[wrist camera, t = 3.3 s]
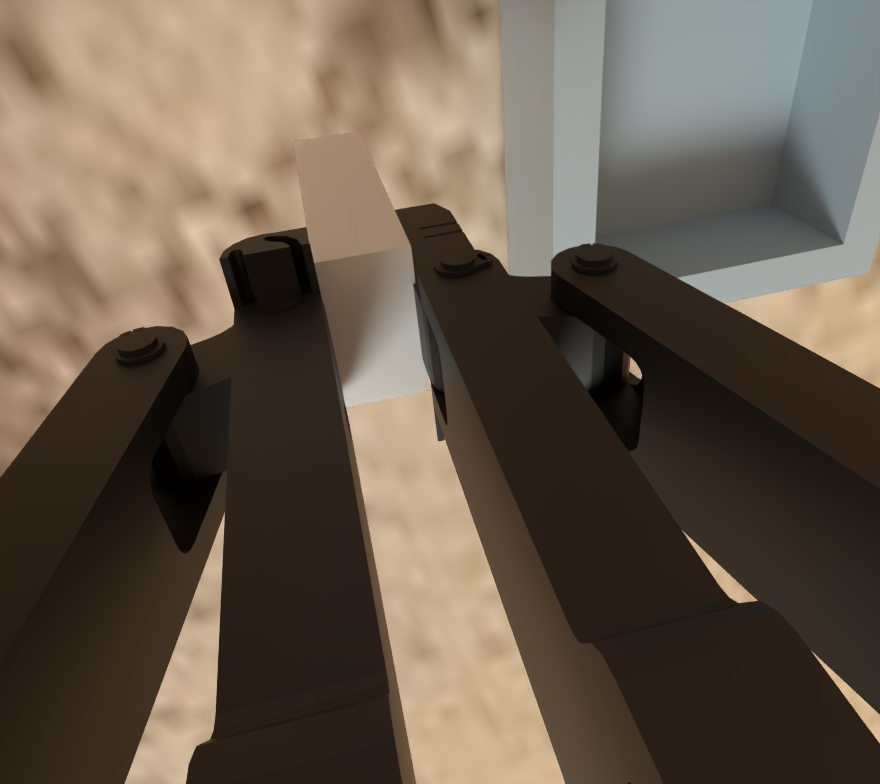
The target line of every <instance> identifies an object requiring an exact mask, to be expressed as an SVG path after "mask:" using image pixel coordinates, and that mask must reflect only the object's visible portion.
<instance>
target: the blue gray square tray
mask: <svg viewBox="0 0 880 784" xmlns="http://www.w3.org/2000/svg"><path fill="white" fill-rule="evenodd" d="M499 13H500V41H501V69H502V97H503V124H504V152H505V180H506V208H507V235H508V263H509V275H513V276H528V277H530V276H551V260H552V259H553V258H554V257H555V256H556V254H557V253H559V252H561V251H564V250H566V249H568V248H572V247H577V246H580V245H581V244H588V243H591V245H593V243H601V244H604V245H607V246H614V247H618V248H621V249H623V250H626V251H629V252H631V253H632V254H634V255H636V256H638V257H640V258H642V259H643V260H645V261H647V262H649V263H651V264H653V265H654V266H656V267H658V268H660V269H662V270H664V271H665V272H667V273H669V274H671V275H673V276H675V277H676V278H678V279H680V280H682V281H684V282H686V283H687V284H689V285H691V286H693V287H695V288H697V289H698V290H700V291H702V292H704V293H706V294H708V295H709V296H711V297H713V298H715V299H717V300H719V301H720V302H722V303H728V302H733V301H737V300H742V299H747V298H752V297H757V296H761V295H766V294H771V293H776V292H780V291H785V290H790V289H795V288H800V287H804V286H809V285H814V284H819V283H824V282H828V281H833V280H838V279H843V278H847V277H852V276H857V275H862V274H867V273H868V272H869V269H870V266H871V262H872V259H873V256H874V252H875V249H876V246H877V243H878V239H879V236H880V0H499Z"/></svg>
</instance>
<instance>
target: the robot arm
mask: <svg viewBox="0 0 880 784" xmlns="http://www.w3.org/2000/svg"><path fill="white" fill-rule="evenodd" d="M293 144H294V151H295V157H296V163H297V170H298V176H299V182H300V189H301V195H302V201H303V208H304V214H305V220H306V227H305V228H299V229H293V230H287V231H282V232H276V233H269V234H262V235H258V236H254V237H250V238H247V239H244V240H242V241H240V242H237V243H235V244H233V245H232V246H230V247H229V248H228V249H226V250H225V251H223V253H222V255H221V257H220V259H219V260H220V263H221V266H222V270H223V273H224V276H225V279H226V283H227V286H228V289H229V292H230V296H231V299H232V302H233V305H234V309H235V310H234V325H233V326H232V327H231V328H229V329H227V330H226V331H224V332H222V333H221V334H218V335H216V336H214V337H211V338H209V339H207V340H204V341H201V342H198V343H195V344H193V345H190V343H189V340H188V338H187V336H186V335H185V333H184V332H183V331H182V330H179V329H176V328H174V327H163V326H155V327H149V328H144V327H142V328H138V329H134V330H133V331H132V332H131V331H128V332H126V333H123V334H121V335H120V336H119V337H118V338H116V339H114V340H112V341H110V342H109V343H107V344H106V345H104V346H103V347H102V348H101V349H100V350H99V351H98V352H97V353H96V354H95V355H94V356H93V358H92V359H91V360H90V362H89V363H88V364H87V366H86V367H85V368H84V369H83V371H82V372H81V373H80V375H79V376H78V377H77V379H76V380H75V381H74V382H73V384H72V385H71V386H70V388H69V389H68V390H67V392H66V393H65V394H64V396H63V397H62V398H61V399H60V401H59V402H58V403H57V405H56V406H55V407H54V409H53V410H52V411H51V412H50V414H49V415H48V416H47V418H46V419H45V420H44V422H43V423H42V424H41V426H40V427H39V428H38V429H37V431H36V432H35V433H34V435H33V436H32V437H31V439H30V440H29V441H28V442H27V444H26V445H25V446H24V448H23V449H22V450H21V452H20V453H19V454H18V455H17V457H16V458H15V459H14V461H13V462H12V463H11V465H10V466H9V467H8V469H7V470H6V471H5V472H4V474H3V475H2V476H1V478H0V784H124V783H125V781H126V778H127V775H128V773H129V770H130V767H131V764H132V762H133V759H134V756H135V754H136V751H137V748H138V745H139V743H140V740H141V737H142V735H143V732H144V729H145V727H146V724H147V721H148V718H149V716H150V713H151V710H152V708H153V705H154V702H155V699H156V697H157V694H158V691H159V689H160V686H161V683H162V681H163V678H164V675H165V672H166V670H167V667H168V664H169V662H170V659H171V656H172V653H173V651H174V648H175V645H176V643H177V640H178V637H179V635H180V632H181V629H182V626H183V624H184V621H185V618H186V616H187V613H188V610H189V607H190V605H191V602H192V599H193V597H194V594H195V591H196V589H197V586H198V583H199V580H200V578H201V575H202V572H203V570H204V567H205V564H206V561H207V559H208V556H209V553H210V551H211V548H212V545H213V543H214V540H215V537H216V534H217V532H218V529H219V526H220V524H221V521H222V518H223V515H224V513H225V525H224V547H223V568H222V590H221V611H220V633H219V654H218V676H217V697H216V716H215V725H214V731H213V734H212V736H211V739H210V740H209V741H206V742H204V743H202V744H200V745H198V746H196V748H195V751H194V753H193V756H192V758H191V761H190V763H189V767H188V774H187V781H186V784H416V781H415V775H414V770H413V764H412V759H411V754H410V748H409V743H408V737H407V732H406V727H405V721H404V716H403V710H402V705H401V700H400V694H399V689H398V683H397V678H396V673H395V667H394V662H393V656H392V651H391V646H390V640H389V635H388V629H387V624H386V619H385V613H384V608H383V602H382V597H381V592H380V586H379V581H378V575H377V570H376V565H375V559H374V554H373V548H372V543H371V538H370V532H369V527H368V521H367V516H366V511H365V505H364V500H363V495H362V489H361V484H360V478H359V473H358V468H357V462H356V457H355V451H354V446H353V441H352V435H351V430H350V424H349V420H348V415H347V411H346V408H347V407H351V406H356V405H361V404H366V403H371V402H376V401H381V400H386V399H391V398H396V397H400V396H405V395H410V394H415V393H420V392H425V391H429V386H428V378H427V373H428V375H429V378H430V381H431V388H432V396H433V404H434V412H435V420H436V429H437V437H438V441H443V440H444V437H445V440H446V443H447V446H448V449H449V452H450V454H451V457H452V460H453V463H454V466H455V469H456V472H457V474H458V477H459V480H460V483H461V486H462V489H463V492H464V494H465V497H466V500H467V503H468V506H469V509H470V512H471V514H472V517H473V520H474V523H475V526H476V529H477V532H478V534H479V537H480V540H481V543H482V546H483V549H484V552H485V554H486V557H487V560H488V563H489V566H490V569H491V572H492V574H493V577H494V580H495V583H496V586H497V589H498V592H499V594H500V597H501V600H502V603H503V606H504V609H505V612H506V615H507V617H508V620H509V623H510V626H511V629H512V632H513V635H514V637H515V640H516V643H517V646H518V649H519V652H520V655H521V657H522V660H523V663H524V666H525V669H526V672H527V675H528V677H529V680H530V683H531V686H532V689H533V692H534V695H535V697H536V700H537V703H538V706H539V709H540V712H541V715H542V717H543V720H544V723H545V726H546V729H547V732H548V735H549V737H550V740H551V743H552V746H553V749H554V752H555V755H556V757H557V760H558V763H559V766H560V769H561V772H562V775H563V777H564V781H565V784H880V743H879V742H878V741H877V739H876V738H875V737H874V735H873V734H872V733H871V731H870V730H869V729H868V727H867V726H866V725H865V723H864V722H863V720H862V719H861V718H860V716H859V715H858V714H857V712H856V711H855V710H854V708H853V707H852V706H851V704H850V703H849V702H848V700H847V699H846V698H845V696H844V695H843V693H842V692H841V691H840V689H839V688H838V687H837V685H836V684H835V683H834V681H833V680H832V679H831V677H830V676H829V675H828V673H827V672H826V671H825V669H824V668H823V666H822V665H821V664H820V662H819V661H818V660H817V658H816V657H815V656H814V654H816V655H817V656H818V657H819V658H820V659H821V660H822V661H823V662H824V663H825V664H826V665H827V666H828V667H829V668H831V669H832V670H833V671H834V672H835V673H836V674H837V675H838V676H839V677H840V678H841V679H842V680H843V681H844V682H846V683H847V684H848V685H849V686H850V687H851V688H852V689H853V690H854V691H855V692H856V693H857V694H858V695H859V696H861V697H862V698H863V699H864V700H865V701H866V702H867V703H868V704H869V705H870V706H871V707H872V708H873V709H874V710H876V711H877V712H878V713H879V714H880V388H878V387H876V386H874V385H873V384H871V383H869V382H867V381H865V380H863V379H862V378H860V377H858V376H856V375H854V374H852V373H851V372H849V371H847V370H845V369H843V368H841V367H840V366H838V365H836V364H834V363H832V362H830V361H829V360H827V359H825V358H823V357H821V356H819V355H818V354H816V353H814V352H812V351H810V350H808V349H807V348H805V347H803V346H801V345H799V344H797V343H796V342H794V341H792V340H790V339H788V338H786V337H785V336H783V335H781V334H779V333H777V332H775V331H774V330H772V329H770V328H768V327H766V326H764V325H763V324H761V323H759V322H757V321H755V320H753V319H752V318H750V317H748V316H746V315H744V314H742V313H741V312H739V311H737V310H735V309H733V308H731V307H730V306H728V305H726V304H724V303H722V302H720V301H719V300H717V299H715V298H713V297H711V296H709V295H708V294H706V293H704V292H702V291H700V290H698V289H697V288H695V287H693V286H691V285H689V284H687V283H686V282H684V281H682V280H680V279H678V278H676V277H675V276H673V275H671V274H669V273H667V272H665V271H664V270H662V269H660V268H658V267H656V266H654V265H653V264H651V263H649V262H647V261H645V260H643V259H642V258H640V257H638V256H636V255H634V254H632V253H631V252H629V251H626V250H623V249H621V248H618V247H614V246H607V245H604V244H601V243H593V245H591V243H588V244H581V245H580V246H577V247H572V248H568V249H566V250H564V251H561V252H559V253H557V254H556V256H555V257H554V258H553V259H552V260H551V276H530V277H528V276H513V275H509V274H508V273H507V271H506V270H505V269H504V267H503V266H502V264H501V263H500V261H499V260H498V259H497V258H496V257H495V256H493V255H492V254H490V253H487V252H484V251H481V250H474V248H473V246H472V245H471V243H470V242H469V240H468V238H467V237H466V235H465V234H464V232H462V229H461V227H460V226H459V224H458V223H457V221H456V220H455V218H454V216H453V215H452V213H451V212H450V211H449V210H447V209H445V208H443V207H441V206H439V205H436V204H434V203H433V204H427V205H422V206H416V207H410V208H404V209H398V210H394V208H393V205H392V203H391V201H390V199H389V197H388V194H387V192H386V190H385V188H384V186H383V183H382V181H381V179H380V177H379V175H378V172H377V170H376V168H375V166H374V164H373V161H372V159H371V157H370V155H369V153H368V150H367V148H366V146H365V144H364V142H363V139H362V137H361V135H360V133H359V132H352V133H346V134H340V135H333V136H327V137H320V138H314V139H307V140H301V141H295V142H293ZM630 357H631V358H632V359H633V360H634V361H635V362H636V363H637V365H638V367H639V368H640V370H641V373H642V379H639V378H637V377H636V376H634V375H633V374H632V373H630V372H629V367H630ZM680 528H681V529H682V530H683V531H684V532H685V533H686V534H687V535H688V536H689V537H690V538H691V539H692V540H693V541H694V542H696V543H697V544H698V545H699V546H700V547H701V548H702V549H703V550H704V551H705V552H706V553H707V554H708V555H709V556H711V557H712V558H713V559H714V560H715V561H716V562H717V563H718V564H719V565H720V566H721V567H722V568H723V569H724V570H726V571H727V572H728V573H729V574H730V575H731V576H732V577H733V578H734V579H735V580H736V581H737V582H738V583H739V584H741V585H742V586H743V587H744V588H745V589H746V590H747V591H748V592H749V593H750V594H751V595H752V596H753V597H754V598H756V599H757V600H758V601H753V602H745V603H737V602H736V601H734V600H732V599H731V598H729V597H728V596H727V594H726V593H725V592H724V591H723V590H722V589H721V587H720V586H719V585H718V583H717V582H716V580H715V579H714V577H713V576H712V574H711V573H710V571H709V570H708V568H707V567H706V565H705V564H704V562H703V561H702V560H701V558H700V557H699V555H698V554H697V552H696V551H695V549H694V548H693V546H692V545H691V543H690V542H689V540H688V539H687V537H686V536H685V534H684V533H683V531H682V530H681V529H680ZM811 651H812V652H813V653H814V654H813V653H812V652H811Z"/></svg>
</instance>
